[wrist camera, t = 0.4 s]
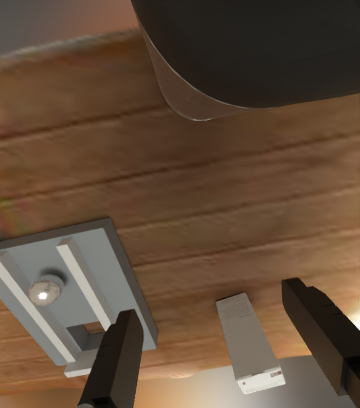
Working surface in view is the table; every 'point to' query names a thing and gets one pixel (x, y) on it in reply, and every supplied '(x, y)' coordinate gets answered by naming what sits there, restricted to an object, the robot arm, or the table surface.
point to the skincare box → (248, 346)
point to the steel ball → (46, 289)
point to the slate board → (72, 290)
